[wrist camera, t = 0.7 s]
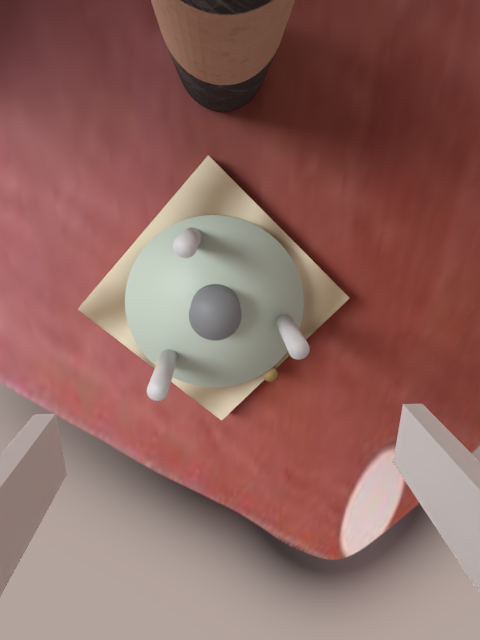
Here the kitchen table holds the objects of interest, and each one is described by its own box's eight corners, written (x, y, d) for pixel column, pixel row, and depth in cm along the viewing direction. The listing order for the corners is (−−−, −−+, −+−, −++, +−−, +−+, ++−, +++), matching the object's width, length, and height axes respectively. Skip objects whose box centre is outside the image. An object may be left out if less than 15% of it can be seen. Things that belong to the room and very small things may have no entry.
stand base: (85, 303, 35) (72, 312, 32) (209, 157, 32) (207, 153, 29) (223, 411, 40) (223, 428, 37) (344, 294, 37) (356, 303, 33)
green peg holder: (92, 309, 33) (56, 339, 26) (209, 173, 30) (205, 164, 23) (221, 410, 37) (221, 460, 30) (335, 299, 34) (366, 325, 27)
